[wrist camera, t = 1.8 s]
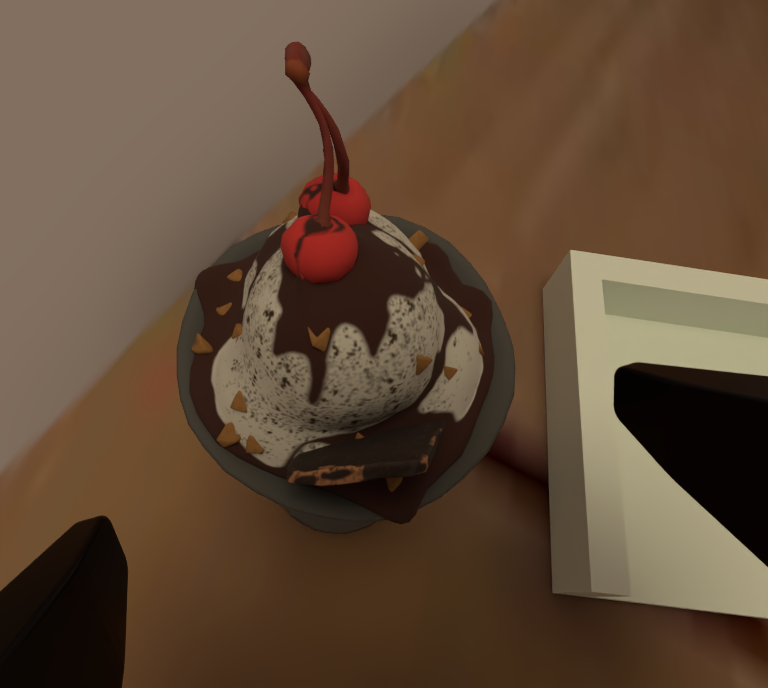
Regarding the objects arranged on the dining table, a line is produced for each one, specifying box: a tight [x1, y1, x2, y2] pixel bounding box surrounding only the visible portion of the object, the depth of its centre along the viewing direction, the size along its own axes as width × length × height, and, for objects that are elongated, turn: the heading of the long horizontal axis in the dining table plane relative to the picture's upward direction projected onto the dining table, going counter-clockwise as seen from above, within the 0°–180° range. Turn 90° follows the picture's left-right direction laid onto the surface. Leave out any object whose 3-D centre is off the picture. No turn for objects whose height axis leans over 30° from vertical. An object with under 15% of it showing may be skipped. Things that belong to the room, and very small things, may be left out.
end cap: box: [542, 250, 768, 619], centre depth 20 cm, size 12×12×3 cm
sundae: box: [177, 42, 515, 533], centre depth 13 cm, size 7×7×15 cm
